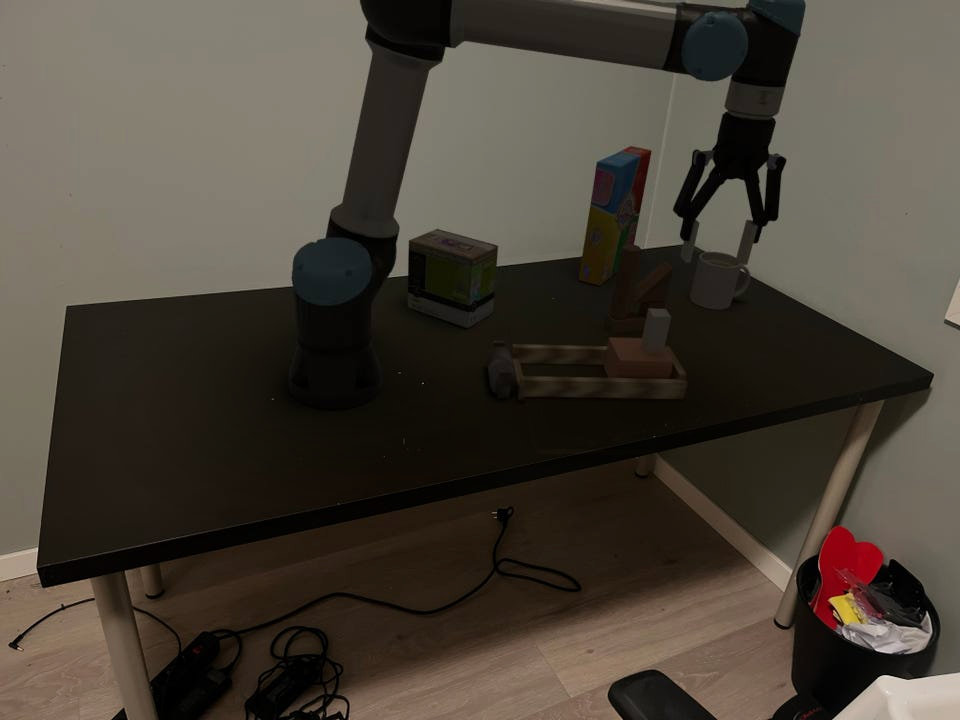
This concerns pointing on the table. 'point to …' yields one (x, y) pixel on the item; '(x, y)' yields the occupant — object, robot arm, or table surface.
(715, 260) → the mug
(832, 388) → the table surface
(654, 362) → the brown block with post
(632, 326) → the brown wooden stand
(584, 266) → the game box
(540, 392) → the bay
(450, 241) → the tea box
